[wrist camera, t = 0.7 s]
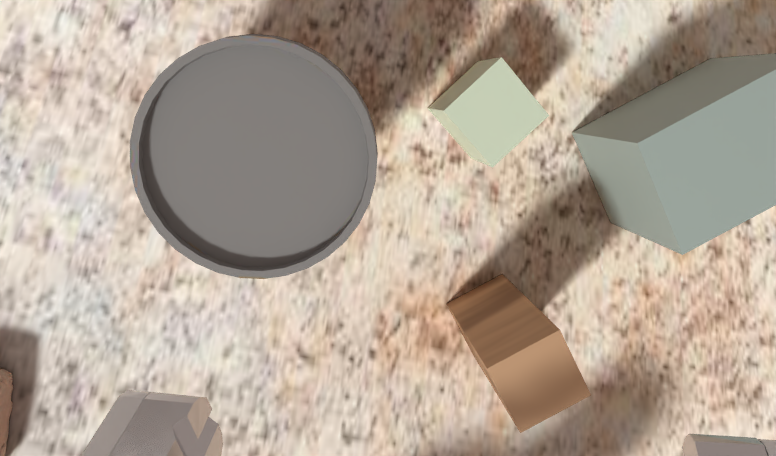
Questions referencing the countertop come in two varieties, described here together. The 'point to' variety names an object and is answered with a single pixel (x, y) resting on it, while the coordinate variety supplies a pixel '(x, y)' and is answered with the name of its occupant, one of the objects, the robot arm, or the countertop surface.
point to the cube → (488, 111)
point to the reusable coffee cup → (254, 156)
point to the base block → (689, 153)
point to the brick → (5, 407)
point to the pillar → (519, 352)
